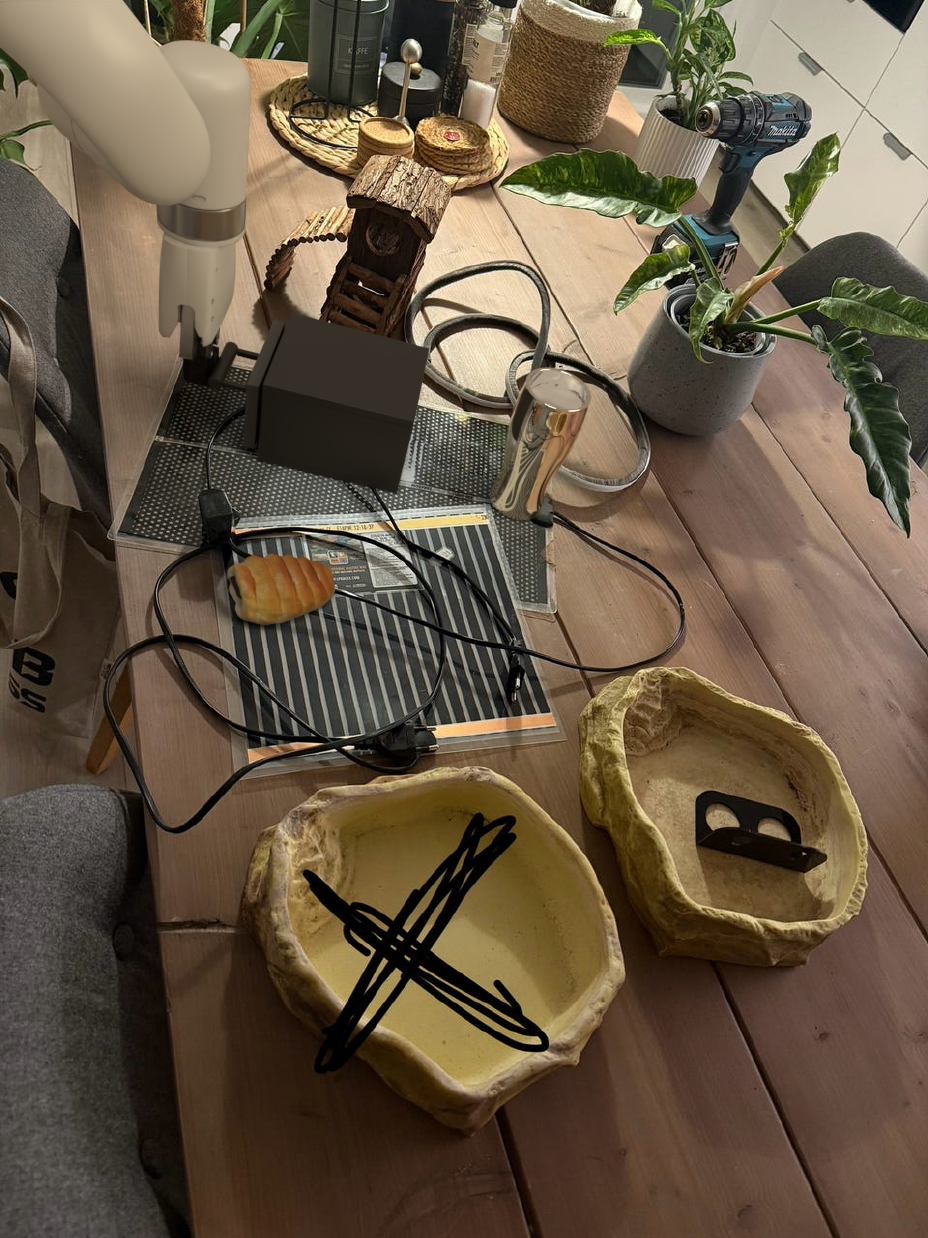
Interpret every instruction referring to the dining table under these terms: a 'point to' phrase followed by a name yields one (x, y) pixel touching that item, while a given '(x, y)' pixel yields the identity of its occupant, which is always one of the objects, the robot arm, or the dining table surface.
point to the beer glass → (538, 440)
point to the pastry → (279, 587)
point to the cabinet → (341, 403)
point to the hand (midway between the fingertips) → (201, 379)
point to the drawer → (254, 381)
